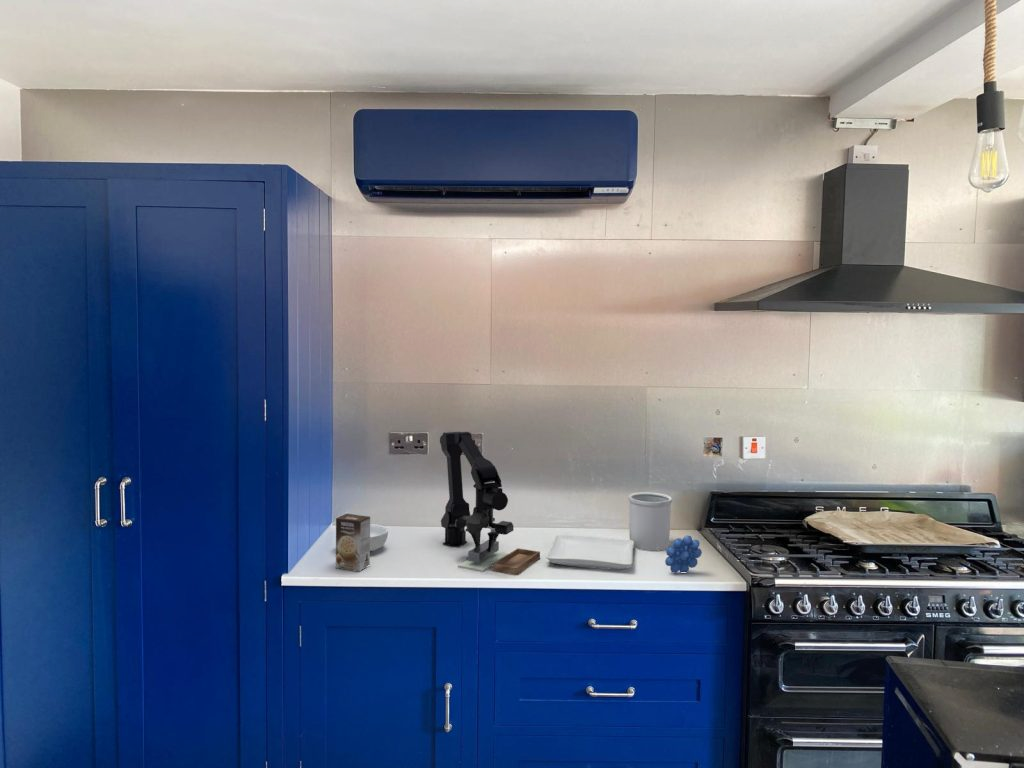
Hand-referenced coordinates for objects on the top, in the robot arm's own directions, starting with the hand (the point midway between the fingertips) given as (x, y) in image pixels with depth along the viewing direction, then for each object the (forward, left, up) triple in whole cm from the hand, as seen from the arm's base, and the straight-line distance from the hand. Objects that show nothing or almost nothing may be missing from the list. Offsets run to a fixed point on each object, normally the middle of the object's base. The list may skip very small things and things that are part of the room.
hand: (483, 550), depth 216 cm
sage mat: (0, 0, -3) cm, 3 cm away
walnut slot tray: (+11, +2, -3) cm, 12 cm away
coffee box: (-34, -24, -4) cm, 42 cm away
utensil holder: (+44, +42, -4) cm, 61 cm away
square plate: (+30, +20, -4) cm, 36 cm away
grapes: (+60, +19, -4) cm, 63 cm away
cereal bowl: (-42, -9, -4) cm, 43 cm away
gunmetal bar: (0, 0, -2) cm, 2 cm away
